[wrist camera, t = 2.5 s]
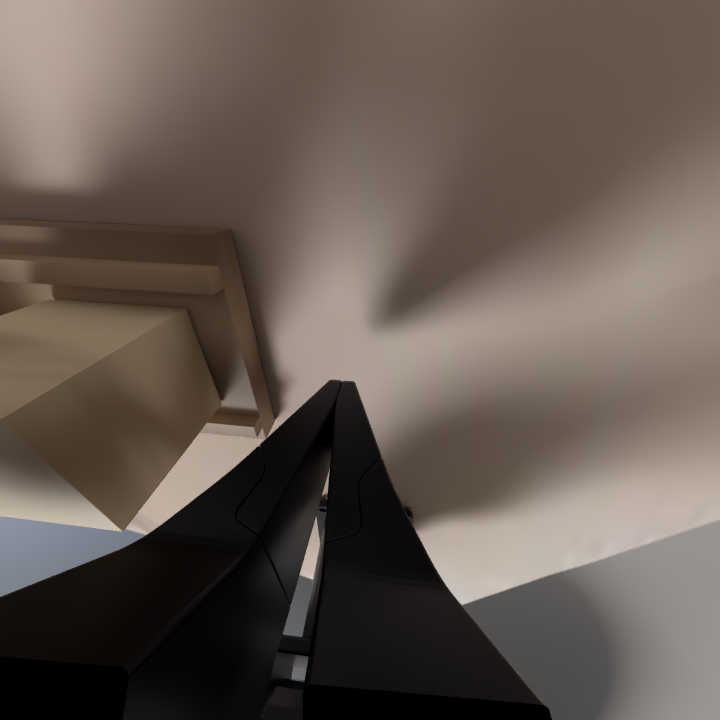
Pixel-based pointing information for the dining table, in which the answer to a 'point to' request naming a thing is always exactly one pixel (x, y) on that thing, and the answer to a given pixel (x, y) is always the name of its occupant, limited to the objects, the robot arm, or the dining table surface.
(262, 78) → the dining table surface
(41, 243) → the channel
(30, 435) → the beige slanted block
